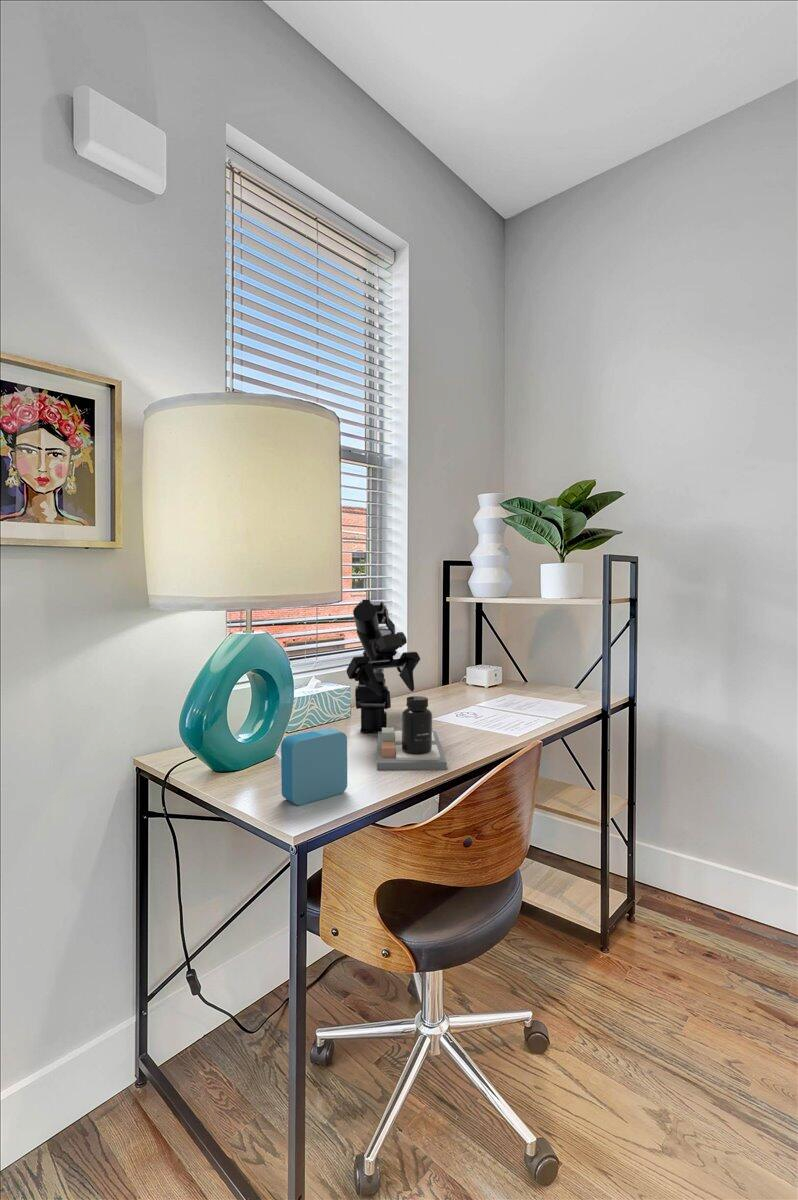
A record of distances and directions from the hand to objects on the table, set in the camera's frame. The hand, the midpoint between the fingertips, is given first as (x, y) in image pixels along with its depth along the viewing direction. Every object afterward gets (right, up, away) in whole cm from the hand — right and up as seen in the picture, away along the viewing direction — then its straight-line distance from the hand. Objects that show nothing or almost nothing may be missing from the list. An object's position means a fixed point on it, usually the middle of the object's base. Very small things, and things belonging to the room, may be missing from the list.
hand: (397, 692), depth 145 cm
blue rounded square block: (-15, -15, -31) cm, 37 cm away
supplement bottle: (+5, -12, -8) cm, 15 cm away
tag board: (+3, -14, -2) cm, 14 cm away
